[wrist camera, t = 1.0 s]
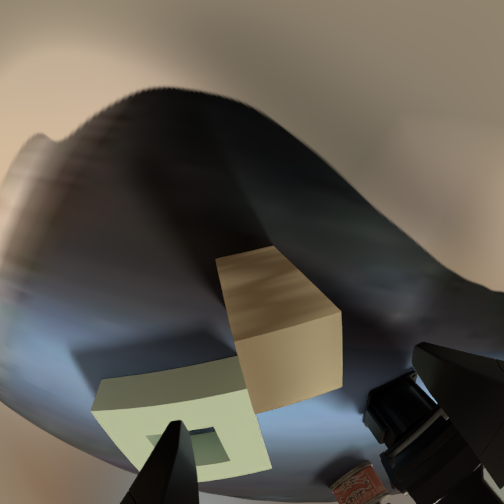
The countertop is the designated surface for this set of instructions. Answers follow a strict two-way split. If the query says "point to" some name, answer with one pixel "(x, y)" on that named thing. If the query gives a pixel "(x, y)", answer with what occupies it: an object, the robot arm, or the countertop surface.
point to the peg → (280, 329)
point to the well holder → (186, 416)
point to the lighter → (360, 486)
